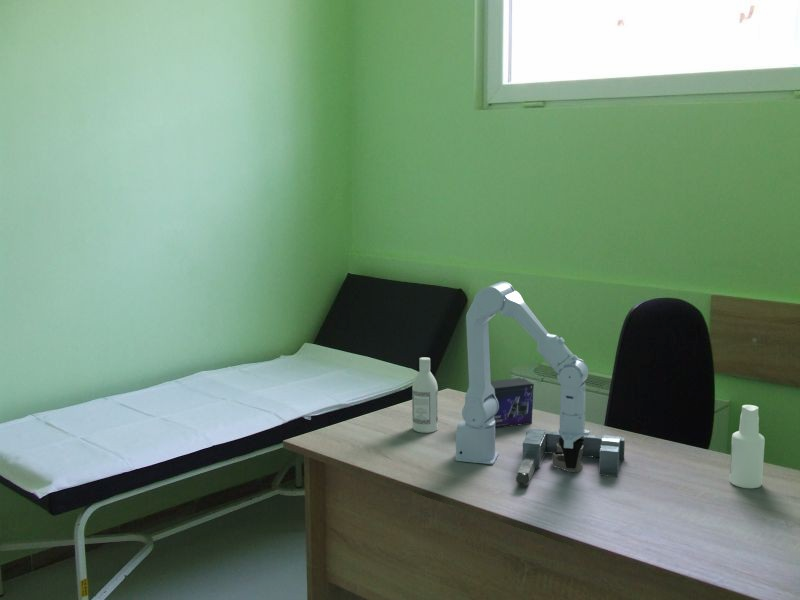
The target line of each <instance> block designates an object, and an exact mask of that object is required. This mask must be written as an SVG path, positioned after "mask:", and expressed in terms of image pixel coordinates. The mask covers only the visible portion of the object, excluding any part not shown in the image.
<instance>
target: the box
mask: <svg viewBox="0 0 800 600" xmlns="http://www.w3.org/2000/svg"><path fill="white" fill-rule="evenodd" d="M491 385H492V386H493V388H494V389H495V396H496V398H497V400H498V403H499V409H498V412H497V413H496V414H495V415H494V419H495V429H499V427H500V428H505V427H504V426H508V427H511V426H510V425H515V426H519V425H518V424H522V425H527V424H526V423H529V424H532V423H533V406H534V385H535V384H534V383H533V382H531V381H530V380H529V379H526V378H525V377H515V378H508V379H506V378H505V379H498V380H497V379H496V380H491Z"/></svg>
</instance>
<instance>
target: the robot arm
mask: <svg viewBox="0 0 800 600" xmlns="http://www.w3.org/2000/svg"><path fill="white" fill-rule="evenodd" d="M512 285H513V284H511V283H509V282H507V281H499V282H496V283H494V284H492V285H489V286H486V287H484V288H482V289H481V290H479V291H478V292H476V294H474V296H473V297H474V299H473V301H472V303H471V305H470V307H469V309H468V310H467V313H466V316H465V326H466V344H467V348H466V349H467V364H468V365H467V366H468V367H467V369H468V388H467V390H466V393H465V396H464V405H463V407H462V410H461V415H462V419H463V420H464V421H459V422H458V423H457V426H456V433H455V461H457V462H464V463H465V462H466V463H474V464H475V463H476V464H484V465H494V464H495V462H496V460H497V458H498V457H499V454H500V451H496V428H495V419H494V415H495V414H496V413H497V412H498V409H499V403H498V400H497V398H496V396H495V389H494V388H493V386H492V385H491V381H492V380H491V379H492V378H491V359H490V358H491V356H490V355H491V353H490V335H489V334H490V331H489V321H490V320H491V319H492V318H493V317H494V316H496V315H497V314H498V313H499V312H500V311H501V312H500V313H499V316H501V317H507V318H512V319H515V321H517V323H518V324H519V325H520V326H521V327H522V328H523V329H524V330H525V331H526V332H527V333H528V334H529V336H530V337H532V339H533V340H534V341H535V342H536V344H537V352H538V353H539V354H540V355H541V356H542V358H543V359H544V361H545V362H546V363H548V365H549V366H550V367H551V369H552V370H553V371H554V372H555V373H557V376H556V379H557V382H558V383H559V385H560V394H559V397H560V398H559V427H558V432H559V434H560V435H561V436H560V438H559V444H560V446H561V448H562V450H563V454H564V459H565V464H566V468H573V469H575V468H576V464H577V460H578V455H579V451H580V449H581V447H582V445H583V443H584V439H585V437H584V435H591V433H590V432H591V431H590V430H589V429H585V426H586V425H585V424H586V394H587V393H586V382H585V381H586V380H587V378H588V377H589V372H590V371H589V366H588V365H587V363H586V362H585V360H583V359H581V358H579V357H578V355H577V354H574V353H572V351H571V350H570V348H568V346H567V345H566V344H565V343H566V340H565V339H564V338H563V337H562V336H561V337H559V336H558V335H557V334H552V333H549V332H548V331H547V330H546V328H545V327H544V326H543V324H542V323H541V322H540V320H539V319H538V318H537V317H536V315H535V314H534V313H533V311H532V310H531V308H529V306H528V304H526V302H525V301H524V299H523V297H522V295H521V293H519V292H518V291H517V290H516V289H514V286H512Z"/></svg>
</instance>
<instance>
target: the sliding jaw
mask: <svg viewBox="0 0 800 600" xmlns="http://www.w3.org/2000/svg"><path fill="white" fill-rule="evenodd" d="M528 429H529V431H528V433H527V435H526V434H525V437H524V439H523V442H522V462H521V464H520V466H519V469H518V471H517V474H516V477H515V482H516V483H517V485H518V486H520V487H525V486H529V484H530V483H531V482H530V481H531V479H532V477H533V475H534V472H535V469H540V468H541V464H542V462H543V460H544V457H545V455H546V453H545V445H546V431H547V430H546V429H541V428H528Z"/></svg>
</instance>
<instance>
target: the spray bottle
mask: <svg viewBox="0 0 800 600" xmlns="http://www.w3.org/2000/svg"><path fill="white" fill-rule="evenodd" d="M759 416H760V415H759V406H757V405H755V404H754V405H752V404H743V405H742V406H741V413H740V416H739V418H740V419H739V428H738V431H737V430H736V431H735V432H733V433H732V434H731V443H730V445H731V447H730V449H731V450H730V460H729V461H730V463H729V464H730V465H729V482H730V483H731V485H733V486H736V487H739V488H741V489H758V488H760V487H762V483H763V472H764V457H765V446H766V445H765V444H766V443H765V442H766V439H765V436H764V435H762V433H760V426H759V425H760V417H759Z"/></svg>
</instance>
